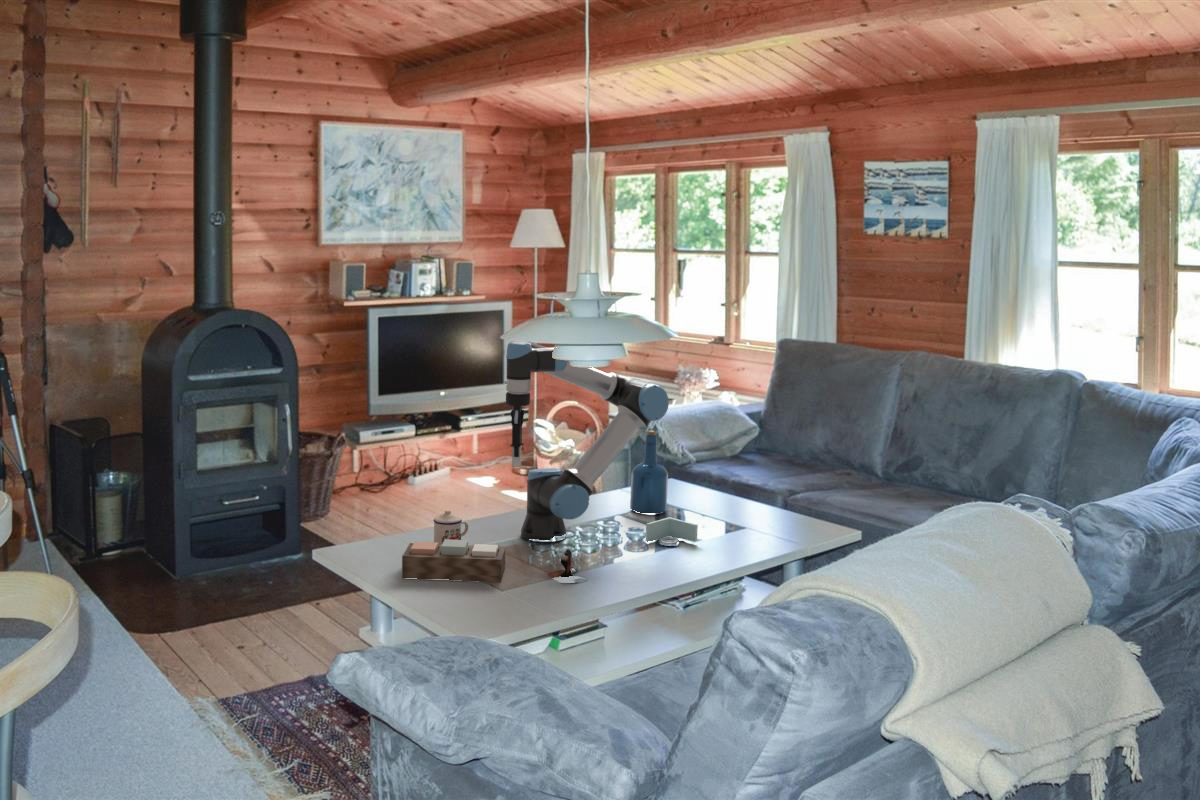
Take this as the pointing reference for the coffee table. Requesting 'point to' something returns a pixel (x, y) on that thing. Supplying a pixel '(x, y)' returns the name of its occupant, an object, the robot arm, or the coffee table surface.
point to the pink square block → (424, 548)
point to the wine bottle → (649, 481)
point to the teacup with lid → (448, 527)
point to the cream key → (485, 550)
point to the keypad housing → (454, 566)
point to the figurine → (567, 565)
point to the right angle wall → (671, 530)
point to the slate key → (454, 547)
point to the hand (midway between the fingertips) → (516, 466)
